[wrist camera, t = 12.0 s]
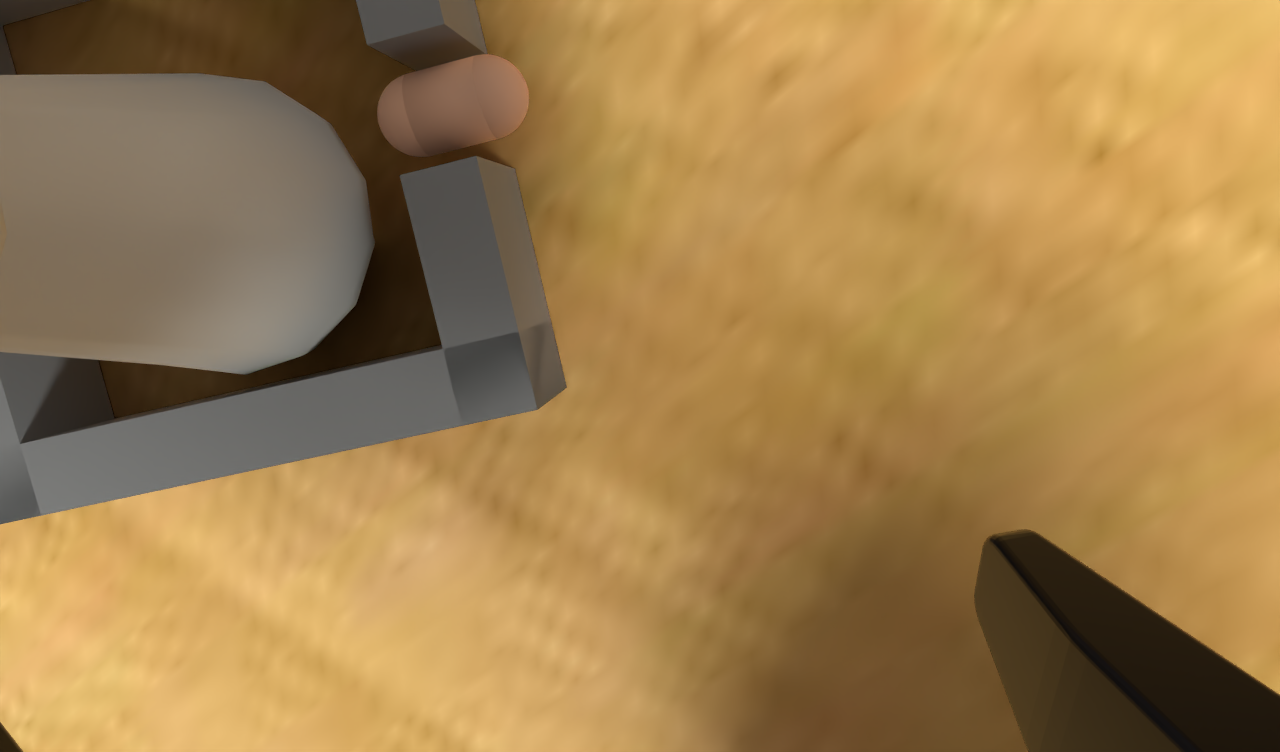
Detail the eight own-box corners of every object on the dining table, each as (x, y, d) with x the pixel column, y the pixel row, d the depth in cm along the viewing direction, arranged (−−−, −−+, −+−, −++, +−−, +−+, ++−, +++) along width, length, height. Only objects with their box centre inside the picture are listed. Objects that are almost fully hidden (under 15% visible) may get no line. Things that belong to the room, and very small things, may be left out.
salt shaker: (151, 341, 22) (-643, 464, 10) (164, 82, 22) (-684, -158, 9) (399, 375, 22) (-94, 552, 9) (422, 111, 21) (-84, -100, 8)
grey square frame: (566, 387, 22) (537, 409, 19) (74, 493, 23) (-25, 529, 20) (432, -179, 20) (378, -252, 17) (-77, -26, 22) (-206, -68, 19)
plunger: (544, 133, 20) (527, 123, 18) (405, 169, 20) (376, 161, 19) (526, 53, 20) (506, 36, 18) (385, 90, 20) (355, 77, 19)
